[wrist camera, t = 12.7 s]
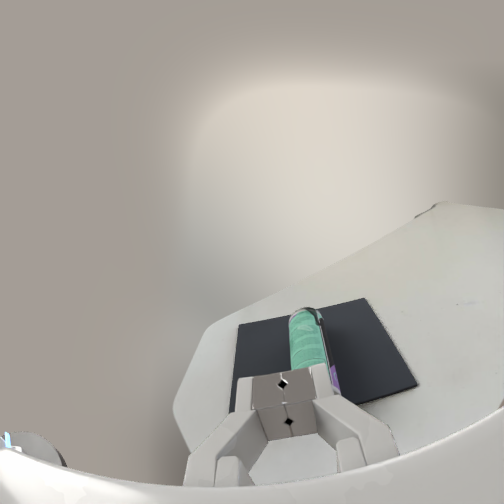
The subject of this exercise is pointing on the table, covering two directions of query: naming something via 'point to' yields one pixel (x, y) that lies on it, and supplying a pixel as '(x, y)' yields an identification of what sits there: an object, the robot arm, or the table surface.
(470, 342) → the table surface
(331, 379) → the spray can
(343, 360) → the mat
